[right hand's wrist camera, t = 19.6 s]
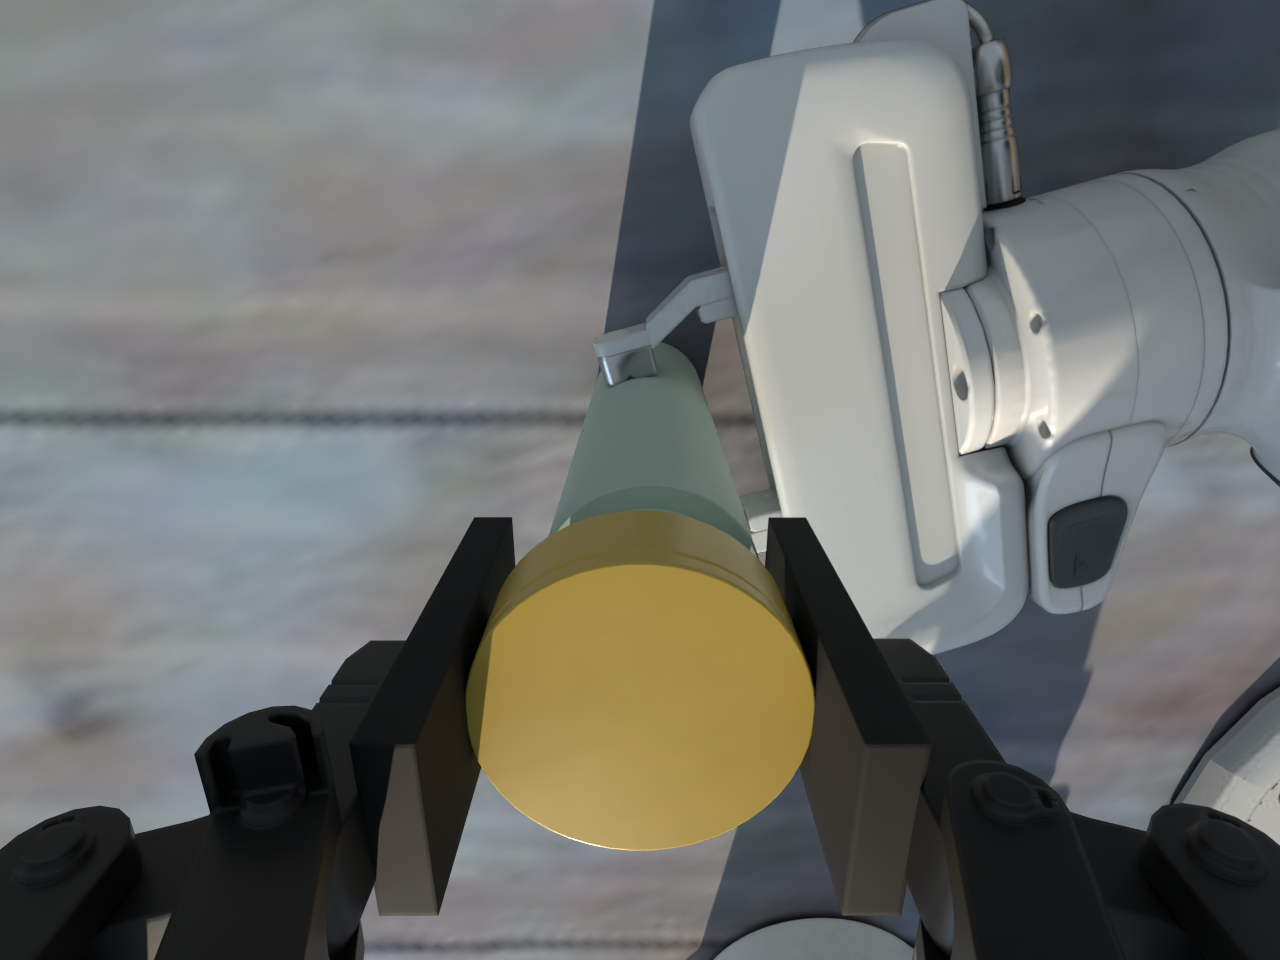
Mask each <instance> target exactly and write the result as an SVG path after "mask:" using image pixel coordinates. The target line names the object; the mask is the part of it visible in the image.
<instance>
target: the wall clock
mask: <svg viewBox="0 0 1280 960" xmlns="http://www.w3.org/2000/svg"><path fill="white" fill-rule="evenodd" d="M1178 803H1186V804H1193V805H1200V806H1206V807H1210V808H1213V809H1215V810H1218V811H1221V812H1224V813H1226V814H1229V815H1232V816H1235V817H1237V818H1239V819H1241V820H1242V821H1244V822H1246V823H1248V824H1250V825H1251V826H1253V827H1255V828H1257V829H1259V830H1260V831H1262V832H1264V833H1265V834H1267V835H1268V836H1269V837H1270V838H1271V839H1273V840H1274V841H1275V842H1276V843H1278V844H1279V845H1280V687H1279V688H1277V689H1276V690H1274V691H1273V692H1271V693H1269V694H1268V695H1266V696H1265V697H1263V698H1262V699H1261V700H1259V701H1258V702H1257V703H1256V704H1255V705H1254V706H1253V707H1252V708H1251V709H1250V710H1249V711H1248V712H1247V713H1246V714H1245V715H1244V716H1243V717H1242V718H1241V719H1240V720H1239V721H1238V722H1237V723H1236V724H1235V725H1234V726H1233V727H1232V728H1231V729H1230V730H1229V731H1228V732H1227V733H1226V734H1225V735H1224V736H1223V737H1222V738H1221V739H1220V740H1219V741H1218V742H1217V743H1216V744H1215V745H1214V746H1213V747H1212V748H1211V749H1210V750H1209V751H1208V752H1207V753H1206V754H1205V755H1204V756H1203V758H1202V759H1201V761H1200V762H1199V764H1198V766H1197V767H1196V769H1195V770H1194V772H1193V773H1192V775H1191V777H1190V778H1189V780H1188V781H1187V783H1186V784H1185V786H1184V788H1183V789H1182V791H1181V792H1180V794H1179V795H1178V797H1177V799H1176V800H1175V802H1174V803H1173V804H1178Z"/></svg>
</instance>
